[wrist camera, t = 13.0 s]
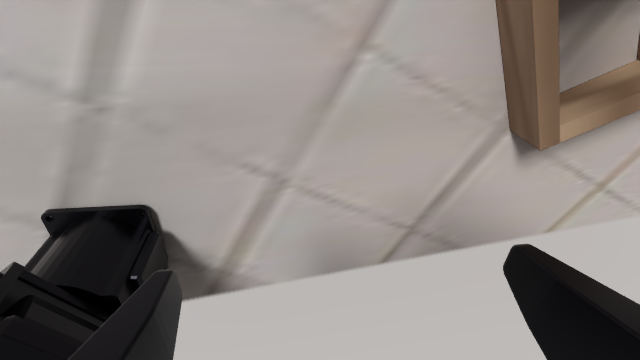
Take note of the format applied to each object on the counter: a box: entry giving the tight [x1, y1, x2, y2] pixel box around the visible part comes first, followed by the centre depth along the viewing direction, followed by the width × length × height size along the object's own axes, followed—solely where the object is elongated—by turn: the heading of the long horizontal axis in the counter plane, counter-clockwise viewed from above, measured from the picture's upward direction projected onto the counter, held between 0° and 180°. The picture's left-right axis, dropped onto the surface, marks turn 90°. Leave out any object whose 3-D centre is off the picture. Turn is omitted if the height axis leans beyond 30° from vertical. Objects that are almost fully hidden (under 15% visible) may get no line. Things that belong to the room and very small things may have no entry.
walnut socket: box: [496, 0, 640, 151], centre depth 18 cm, size 9×9×3 cm
